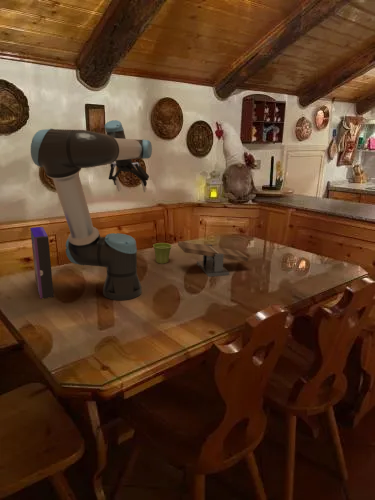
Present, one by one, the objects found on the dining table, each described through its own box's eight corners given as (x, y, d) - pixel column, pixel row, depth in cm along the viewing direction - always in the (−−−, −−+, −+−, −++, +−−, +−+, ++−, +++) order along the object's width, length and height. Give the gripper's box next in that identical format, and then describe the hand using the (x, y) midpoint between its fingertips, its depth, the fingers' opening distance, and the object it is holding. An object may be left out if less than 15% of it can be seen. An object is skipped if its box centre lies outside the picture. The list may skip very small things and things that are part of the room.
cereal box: (35, 283, 150) (30, 227, 143) (48, 281, 152) (42, 226, 146) (40, 299, 136) (34, 237, 129) (53, 296, 138) (48, 236, 131)
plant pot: (171, 259, 186) (171, 243, 183) (171, 265, 177) (171, 248, 174) (153, 258, 185) (153, 242, 183) (152, 264, 176) (152, 247, 174)
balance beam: (237, 254, 181) (238, 250, 180) (247, 261, 170) (248, 257, 169) (177, 245, 170) (178, 241, 170) (184, 252, 159) (185, 248, 159)
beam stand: (229, 274, 165) (230, 254, 163) (208, 276, 163) (209, 255, 160) (215, 262, 182) (216, 243, 179) (196, 264, 179) (197, 244, 176)
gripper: (149, 149, 164) (157, 185, 180) (99, 149, 169) (111, 184, 185) (145, 159, 159) (154, 195, 175) (93, 158, 164) (107, 194, 180)
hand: (132, 190), depth 180 cm, fingers open, 13 cm apart
